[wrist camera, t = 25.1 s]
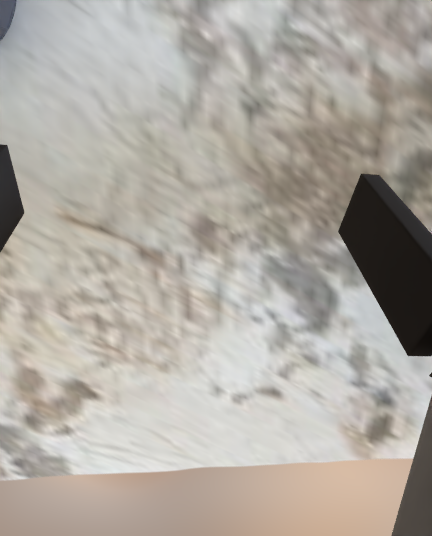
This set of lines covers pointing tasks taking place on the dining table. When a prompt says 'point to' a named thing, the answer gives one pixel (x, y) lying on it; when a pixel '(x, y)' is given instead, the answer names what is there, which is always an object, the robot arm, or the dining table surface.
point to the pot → (6, 15)
